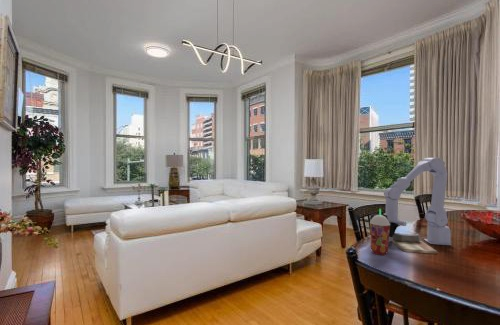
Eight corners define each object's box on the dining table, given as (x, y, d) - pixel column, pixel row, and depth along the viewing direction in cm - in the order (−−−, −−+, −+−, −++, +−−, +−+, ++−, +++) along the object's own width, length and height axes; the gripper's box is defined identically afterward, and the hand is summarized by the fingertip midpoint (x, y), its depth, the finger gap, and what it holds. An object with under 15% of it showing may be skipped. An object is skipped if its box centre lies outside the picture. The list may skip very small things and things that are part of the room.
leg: (418, 240, 136) (418, 233, 136) (421, 242, 133) (421, 235, 133) (392, 238, 138) (392, 232, 138) (394, 240, 135) (394, 234, 135)
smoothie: (387, 251, 124) (388, 208, 123) (391, 257, 116) (392, 211, 116) (368, 249, 126) (369, 206, 126) (370, 254, 118) (370, 209, 118)
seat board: (421, 243, 137) (421, 240, 137) (437, 253, 121) (437, 250, 121) (391, 241, 140) (391, 238, 140) (403, 251, 124) (403, 248, 124)
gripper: (374, 209, 145) (373, 234, 145) (400, 214, 132) (400, 241, 132) (382, 208, 148) (381, 232, 148) (408, 212, 136) (408, 239, 136)
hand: (391, 236), depth 140 cm, fingers closed
